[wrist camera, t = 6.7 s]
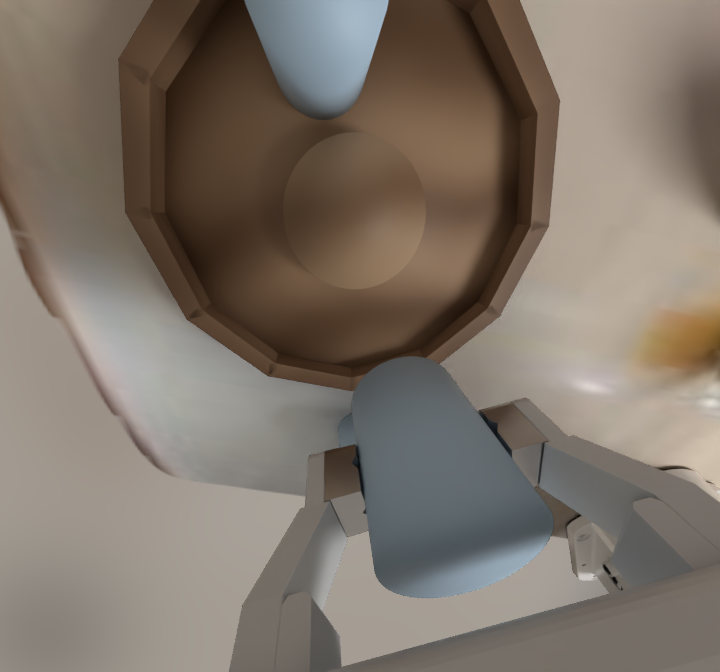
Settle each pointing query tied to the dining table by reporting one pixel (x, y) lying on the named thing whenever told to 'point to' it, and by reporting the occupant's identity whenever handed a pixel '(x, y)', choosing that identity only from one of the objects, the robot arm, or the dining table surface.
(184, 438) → the dining table surface
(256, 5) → the pale blue oval lump
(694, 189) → the dining table surface
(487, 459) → the pale blue oval piece
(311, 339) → the groove tray
